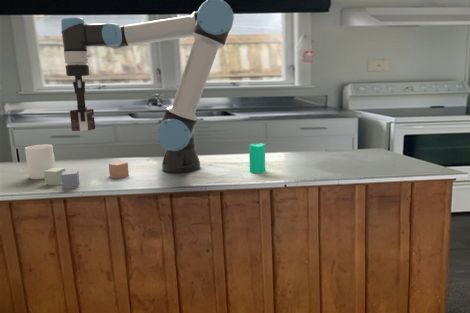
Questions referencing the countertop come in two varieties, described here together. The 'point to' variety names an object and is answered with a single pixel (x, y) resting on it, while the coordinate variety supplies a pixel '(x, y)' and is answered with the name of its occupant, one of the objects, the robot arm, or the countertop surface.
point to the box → (75, 120)
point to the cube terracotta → (118, 169)
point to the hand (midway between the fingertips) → (83, 129)
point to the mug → (39, 160)
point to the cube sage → (53, 176)
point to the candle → (257, 158)
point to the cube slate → (70, 179)
